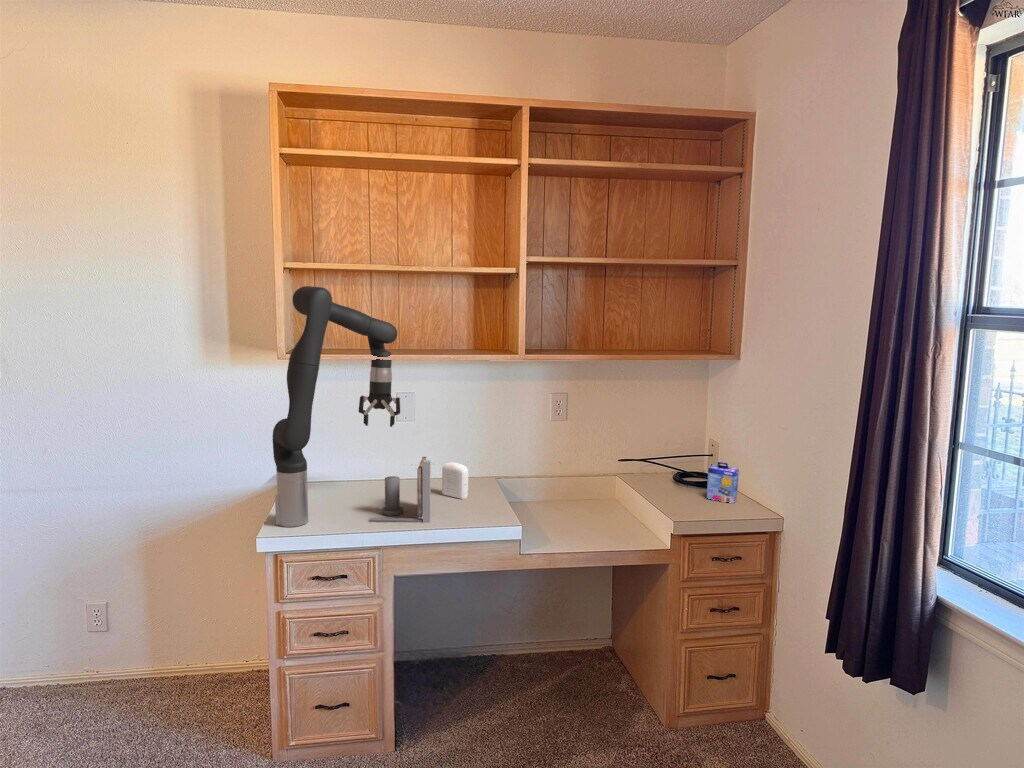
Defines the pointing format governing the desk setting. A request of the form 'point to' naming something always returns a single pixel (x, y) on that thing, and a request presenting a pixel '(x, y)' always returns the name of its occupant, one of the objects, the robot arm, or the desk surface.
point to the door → (420, 488)
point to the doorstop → (392, 497)
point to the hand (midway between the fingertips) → (379, 425)
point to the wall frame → (425, 499)
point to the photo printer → (455, 480)
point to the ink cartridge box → (722, 483)
